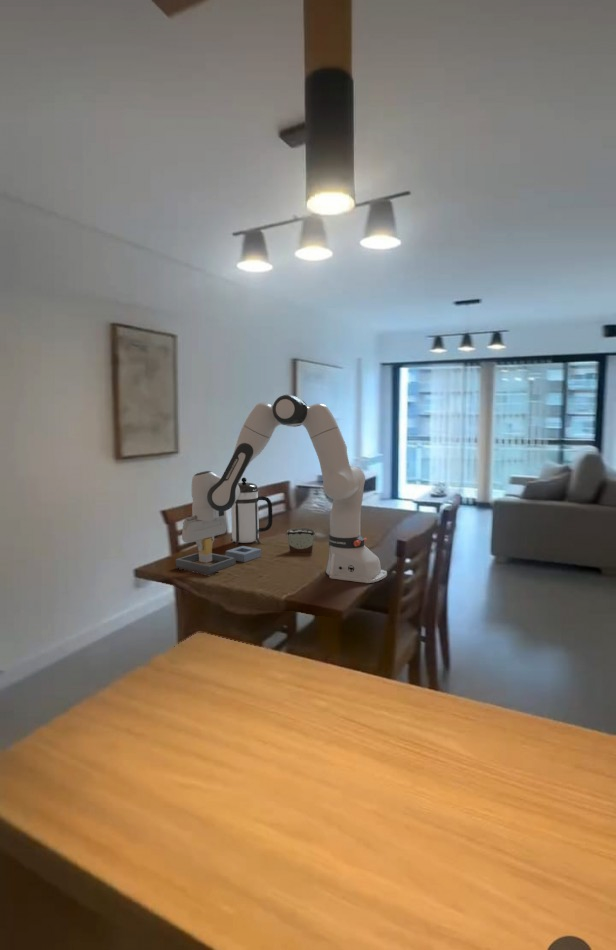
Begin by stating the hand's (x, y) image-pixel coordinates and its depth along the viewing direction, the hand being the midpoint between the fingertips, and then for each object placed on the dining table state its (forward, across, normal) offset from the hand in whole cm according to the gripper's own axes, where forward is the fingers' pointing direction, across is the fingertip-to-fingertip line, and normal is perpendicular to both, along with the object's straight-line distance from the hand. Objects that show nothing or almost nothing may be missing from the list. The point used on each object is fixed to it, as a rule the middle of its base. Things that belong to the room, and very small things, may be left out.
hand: (205, 549), depth 210 cm
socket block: (+7, +16, -5) cm, 18 cm away
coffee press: (+7, +38, +12) cm, 41 cm away
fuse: (+5, 0, 0) cm, 5 cm away
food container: (+7, +38, -18) cm, 43 cm away
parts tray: (+7, 0, 0) cm, 7 cm away
